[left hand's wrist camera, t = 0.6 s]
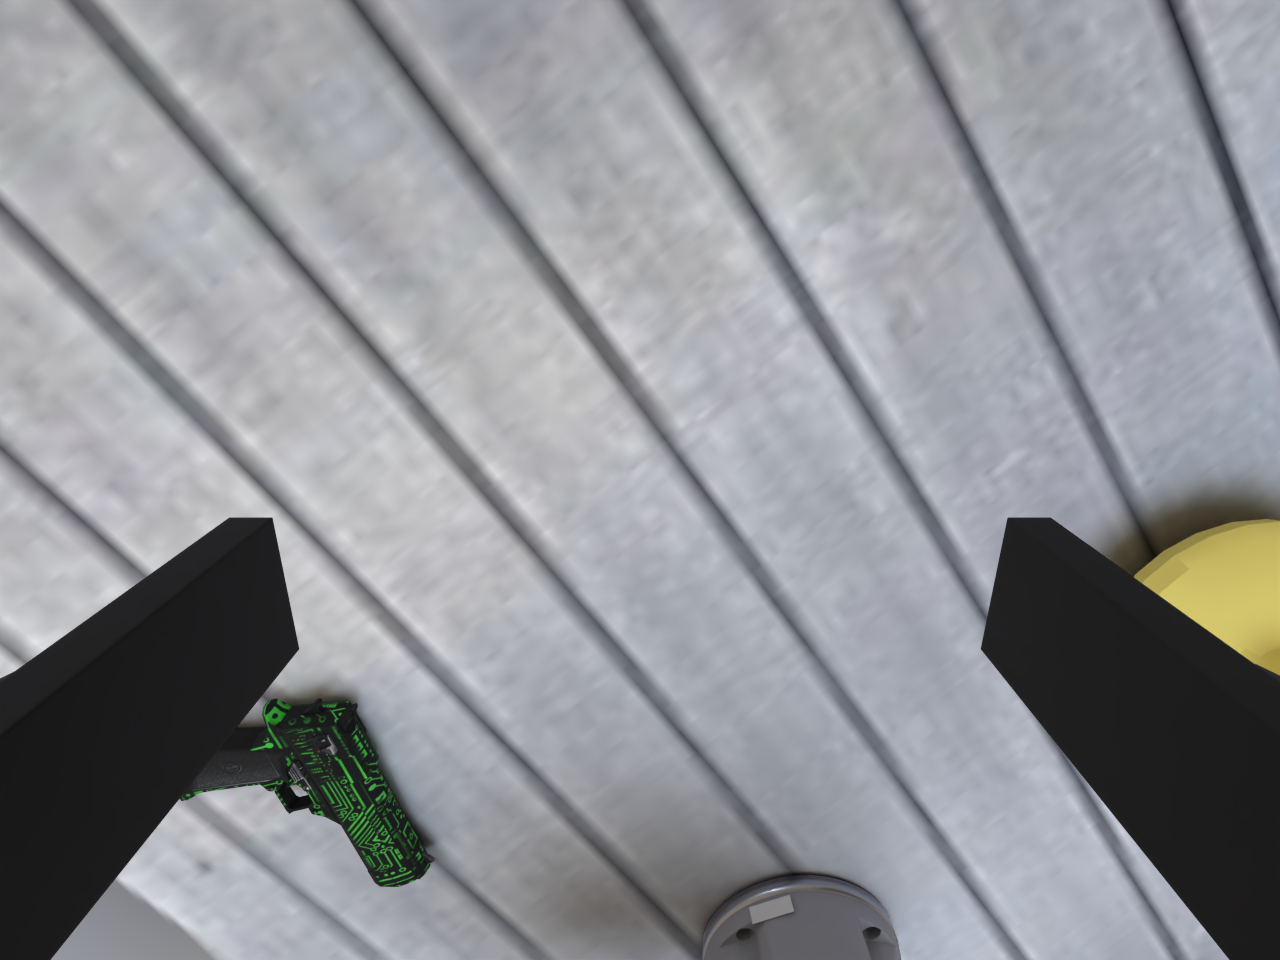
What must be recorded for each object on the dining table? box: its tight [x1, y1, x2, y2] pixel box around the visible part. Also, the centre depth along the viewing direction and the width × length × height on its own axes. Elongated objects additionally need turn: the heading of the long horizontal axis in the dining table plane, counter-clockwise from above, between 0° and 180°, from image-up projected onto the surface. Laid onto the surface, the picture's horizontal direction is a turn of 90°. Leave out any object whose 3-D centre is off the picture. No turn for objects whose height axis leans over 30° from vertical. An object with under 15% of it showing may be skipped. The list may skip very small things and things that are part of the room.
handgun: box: [180, 698, 435, 887], centre depth 48 cm, size 16×3×15 cm
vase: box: [1134, 519, 1280, 675], centre depth 41 cm, size 16×16×7 cm
